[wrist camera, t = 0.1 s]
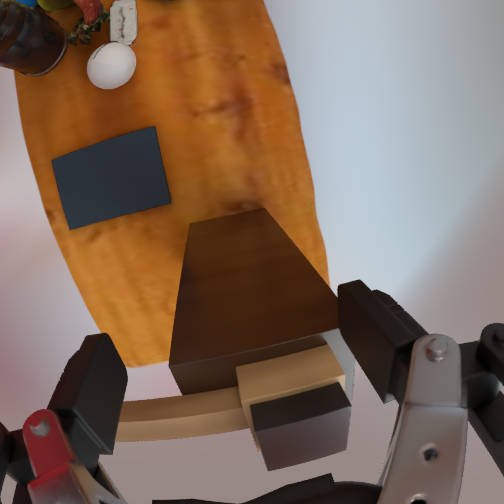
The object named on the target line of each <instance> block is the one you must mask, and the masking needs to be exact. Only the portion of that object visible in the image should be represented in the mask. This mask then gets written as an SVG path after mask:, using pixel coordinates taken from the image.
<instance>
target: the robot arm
mask: <svg viewBox="0 0 504 504" xmlns="http://www.w3.org/2000/svg"><path fill="white" fill-rule="evenodd" d="M67 38H68V37H67V34H66V32H65V30H64V29H62V28H61V27H59V23H58V22H57V21H55V20H54V19H53V18H51V17H50V16H48V15H47V14H45V13H44V12H42V11H41V10H39V9H38V8H36V7H35V6H32V7H28V6H27V5H25V4H23V3H22V2H20V1H18V0H0V66H1V67H6V68H9V69H13V70H17V71H19V72H21V73H23V72H24V73H23V74H25V73H27V74H29V75H32V76H41V75H44V74H46V73H48V72H49V71H51V70H52V69H53V68H54V67H55V66H56V65H57V64H58V63H59V62H60V61H61V59H62V57H63V56H64V54H65V51H66V48H67V44H68V39H67ZM27 74H25V75H27ZM337 291H338V292H337V293H338V324H339V330H340V333H341V336H342V338H343V340H344V341H345V343H346V345H347V346H348V348H349V349H350V351H351V352H352V354H353V355H354V357H355V359H356V360H357V362H358V363H359V365H360V366H361V368H362V370H363V371H364V373H365V374H366V376H367V377H368V379H369V380H370V382H371V384H372V385H373V387H374V389H375V390H376V392H377V393H378V395H379V397H380V398H381V400H382V401H383V403H384V404H385V403H388V402H390V401H392V400H395V399H396V401H397V402H398V403H399V408H398V412H397V416H396V420H395V425H394V428H393V433H392V436H391V440H390V443H389V447H388V451H387V454H386V458H385V460H384V463H383V466H382V469H381V472H380V474H379V477H378V480H377V483H376V485H375V484H370V483H365V482H353V481H349V482H347V481H342V482H334V480H333V477H332V474H331V473H329V474H326V475H322V476H319V477H316V478H312V479H308V480H304V481H301V482H297V483H293V484H288V485H285V486H283V487H281V488H279V489H277V490H274V491H272V492H270V493H267V494H265V495H262V496H260V497H258V498H255V499H253V500H250V501H248V502H245V503H241V504H458V500H459V495H460V489H461V484H462V477H463V470H464V463H465V453H466V444H467V443H466V442H467V430H468V421H469V422H470V424H471V425H472V427H473V428H474V430H475V431H476V433H477V434H478V436H479V437H480V439H481V440H482V442H483V443H484V445H485V447H486V448H487V450H488V451H489V453H490V455H491V456H492V458H493V459H494V461H495V463H496V464H497V466H498V468H499V469H500V471H501V473H502V474H503V476H504V395H503V393H502V392H501V391H500V389H501V387H502V385H503V386H504V324H502V323H493V324H489V325H487V326H486V327H485V328H484V329H483V330H482V333H481V336H480V339H479V341H474V342H468V343H463V344H457V343H456V342H455V340H453V339H452V338H450V337H448V336H446V335H442V334H428V333H427V332H426V331H425V330H424V329H423V328H422V327H421V326H420V325H419V324H418V323H417V322H416V321H415V320H414V319H413V318H412V317H411V316H410V315H409V314H408V313H407V312H406V311H404V309H403V308H402V307H401V306H400V305H398V304H397V302H396V301H395V300H394V299H393V298H392V297H390V295H388V294H386V293H384V292H381V291H379V290H373V291H371V290H370V289H369V288H368V287H367V286H366V285H365V284H364V283H363V282H362V281H361V280H355V281H351V282H348V283H344V284H340V285H339V286H338V289H337ZM127 381H128V376H127V371H126V367H125V365H124V363H123V361H122V359H121V357H120V355H119V354H118V352H117V350H116V348H115V346H114V344H113V342H112V340H111V338H110V336H109V335H108V334H107V333H100V334H94V335H87V336H86V337H85V339H84V341H83V343H82V345H81V347H80V349H79V350H78V351H77V352H76V353H75V354H74V355H73V356H72V357H71V358H70V359H69V360H68V363H67V365H66V367H65V369H64V372H63V373H62V375H61V378H60V381H59V382H58V384H57V386H56V389H55V391H54V393H53V395H52V398H51V400H50V402H49V405H48V407H47V409H42V410H38V411H36V412H34V413H33V414H32V415H30V416H29V417H28V418H27V420H26V421H25V423H24V425H23V429H19V430H15V431H11V432H9V431H8V430H7V429H6V427H5V426H4V425H3V424H2V423H1V422H0V495H1V490H2V486H3V482H4V478H5V475H6V474H7V475H9V476H10V477H11V478H12V479H13V480H15V481H16V482H17V485H16V489H15V493H14V498H13V503H12V504H128V503H127V502H126V501H125V499H124V498H123V496H122V495H121V493H120V492H119V491H118V489H117V488H116V486H115V485H114V483H113V482H112V480H111V478H110V477H109V475H108V474H107V472H106V471H105V469H104V467H103V466H102V465H101V463H100V462H99V461H98V459H99V454H104V455H107V454H108V455H112V454H113V449H114V444H115V438H116V433H117V428H118V423H119V418H120V413H121V409H122V404H123V400H124V395H125V391H126V386H127ZM0 504H2V503H1V499H0ZM152 504H234V503H223V502H213V501H205V500H198V499H180V500H152Z"/></svg>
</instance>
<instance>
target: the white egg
mask: <svg viewBox="0 0 504 504" xmlns="http://www.w3.org/2000/svg"><path fill="white" fill-rule="evenodd" d="M135 67H136V56H135V53H134V52H133V51H132V49H131V48H130V47H129V46H127V45H126V44H123V43H120V42H118V41H112V42H109V43H107V44H104V45H102V46H101V47H99V48H98V49H96V50H95V51H94V52H93V54H92V55H91V56H90V58H89V61H88V64H87V74H88V77H89V79H90V81H91V82H92V83H93V84H94V85H95V86H97V87H99V88H102V89H115V88H117V87H119V86H121V85H123V84H125V83H126V82H127V81H128V80H129V79H130V78H131V77H132V75H133V73H134V71H135Z"/></svg>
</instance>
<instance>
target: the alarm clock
mask: <svg viewBox="0 0 504 504" xmlns="http://www.w3.org/2000/svg"><path fill="white" fill-rule="evenodd" d="M18 1H20V2H22V3H23V4H25V5H27V6H28V7H32V6H36V5H38V2H37V0H18Z"/></svg>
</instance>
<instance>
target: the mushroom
mask: <svg viewBox="0 0 504 504" xmlns="http://www.w3.org/2000/svg"><path fill="white" fill-rule="evenodd" d="M37 2H38V4H39V5H40V7H41V8H43V9H45V10H47V11H51V12H52V11H55V10H60V9H64V8H67V7H69V6H71V5H73V4H75V3H76V4H77V5H78V6H79V7H80V8H81V10H82V11H83V13H84V17H82V18H80V19H79V21H78V23H77V25H76V26H75V28H74V29H73V31H71V33H69V35H68V38H67V39H68V41H69V42H70V43H71V44H72V45H75V46H76V43H75V41H76V39H77V38H79V39H80V42H81V44H83V45H84V44H87V45H90V44H91V41H90V40H89V39H90V38H91V37H92V35H91V34H92V32H93V31H95V32H101V29H100V28H101V21H102V22H103V23H104V22H106V21H107V20H108V19H110V16H109V14H108V12H106V10H103V7H104V4H102V3H101V2H100V0H37ZM76 27H78V28H77V29H76ZM89 27H90V28H89ZM87 28H88V29H87ZM75 29H76V30H75Z"/></svg>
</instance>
